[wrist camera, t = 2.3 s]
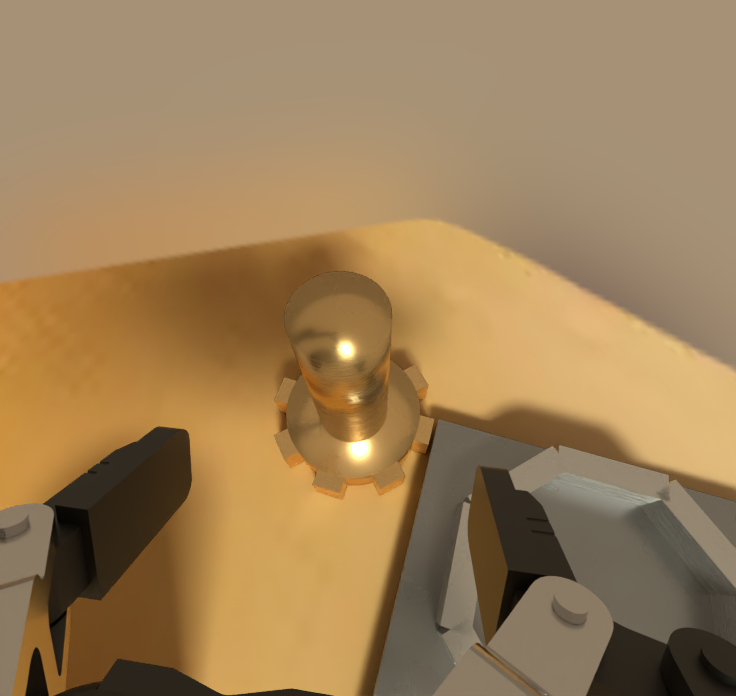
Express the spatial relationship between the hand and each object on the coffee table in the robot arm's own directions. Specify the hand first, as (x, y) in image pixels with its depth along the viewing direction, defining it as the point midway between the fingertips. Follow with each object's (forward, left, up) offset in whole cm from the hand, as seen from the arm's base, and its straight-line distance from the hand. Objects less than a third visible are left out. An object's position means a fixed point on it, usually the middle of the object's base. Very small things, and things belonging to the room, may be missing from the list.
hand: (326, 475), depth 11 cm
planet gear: (-1, +5, -11) cm, 12 cm away
